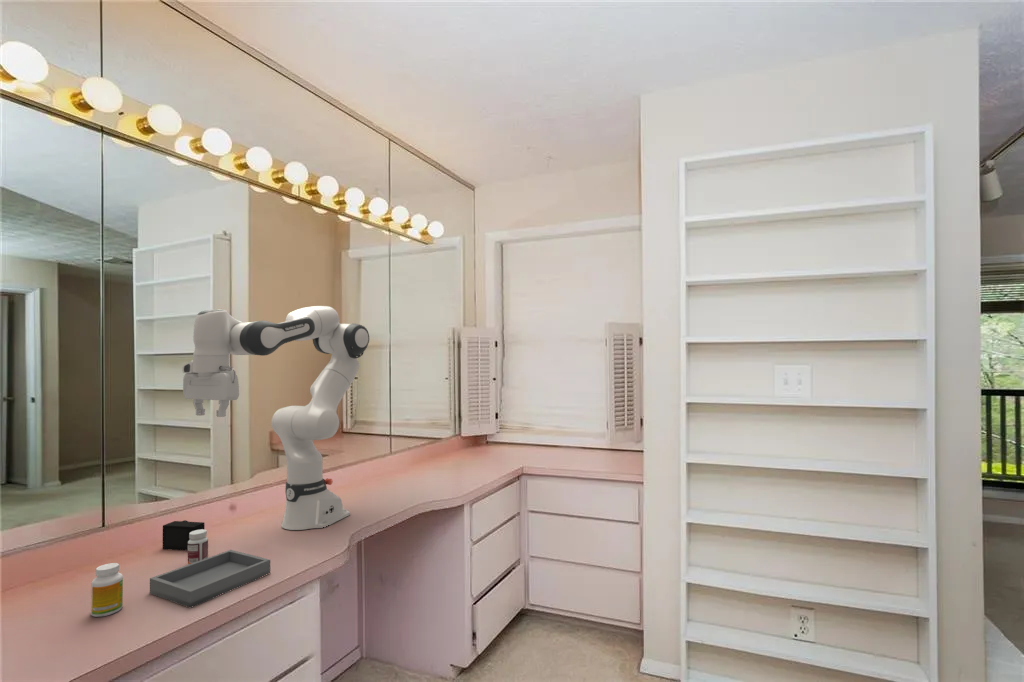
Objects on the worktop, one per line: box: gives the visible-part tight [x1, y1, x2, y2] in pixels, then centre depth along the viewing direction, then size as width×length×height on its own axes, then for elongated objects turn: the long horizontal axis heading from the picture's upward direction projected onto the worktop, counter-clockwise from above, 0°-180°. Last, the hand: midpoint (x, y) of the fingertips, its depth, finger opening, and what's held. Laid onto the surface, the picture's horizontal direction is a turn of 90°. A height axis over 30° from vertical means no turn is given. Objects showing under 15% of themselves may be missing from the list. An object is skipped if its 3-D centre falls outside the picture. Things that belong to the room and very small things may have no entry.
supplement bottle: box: [90, 562, 124, 618], centre depth 111 cm, size 5×5×10 cm
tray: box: [149, 549, 271, 608], centre depth 125 cm, size 20×16×4 cm
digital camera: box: [162, 519, 205, 551], centre depth 150 cm, size 10×5×7 cm, turn 80°
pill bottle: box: [187, 528, 209, 565], centre depth 138 cm, size 5×5×8 cm
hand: (210, 416), depth 142 cm, fingers open, 8 cm apart
